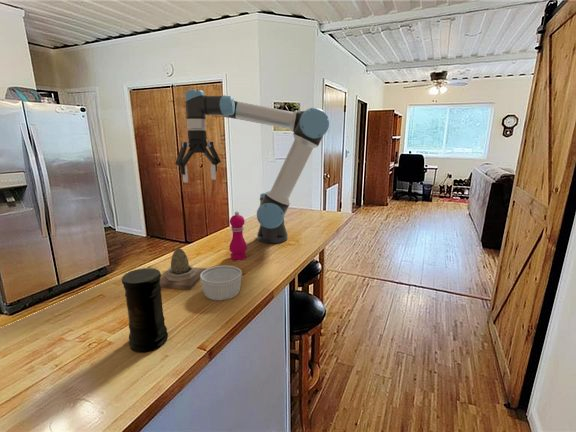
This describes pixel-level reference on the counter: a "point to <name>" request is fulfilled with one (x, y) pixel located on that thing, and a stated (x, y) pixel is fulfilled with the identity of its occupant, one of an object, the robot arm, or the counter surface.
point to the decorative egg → (179, 262)
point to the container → (145, 309)
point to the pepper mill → (237, 238)
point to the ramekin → (221, 282)
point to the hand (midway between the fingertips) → (200, 180)
